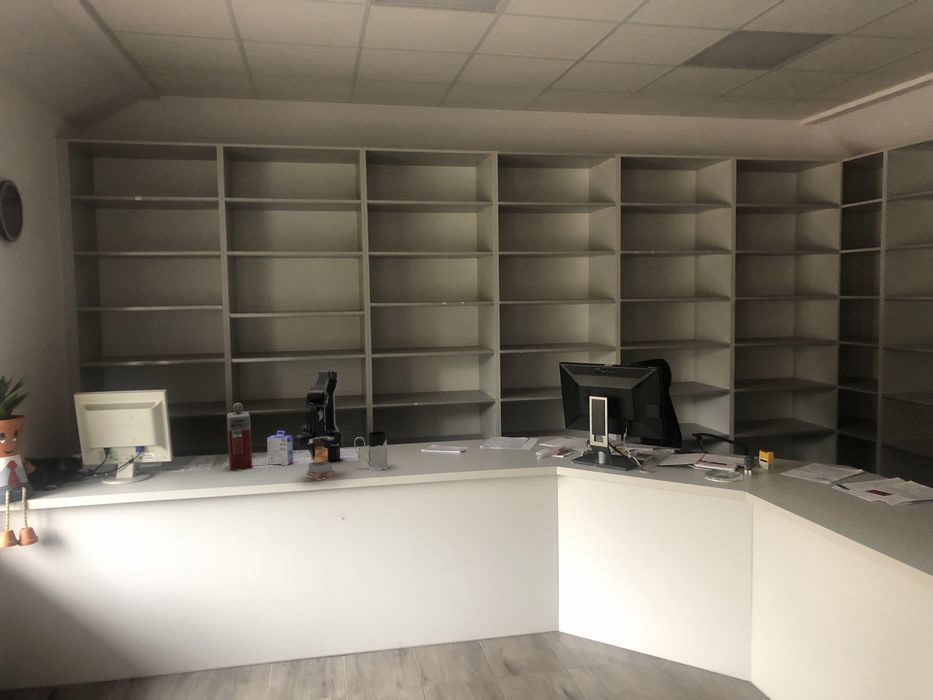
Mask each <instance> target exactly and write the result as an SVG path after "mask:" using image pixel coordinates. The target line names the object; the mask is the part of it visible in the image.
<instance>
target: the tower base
mask: <svg viewBox="0 0 933 700" xmlns="http://www.w3.org/2000/svg"><path fill="white" fill-rule="evenodd" d="M308 476H310V477H312V478H314V479H316V480H317V481H319V480H318V479H322V480H324V479H323V478H327V479H330V478H329V477H332V478H335V470H333V471H329V472H324V473H319V474H316V473H314V472H311V471H309V469H308V470H307V477H308ZM310 477H309V478H310ZM312 478H311V479H312ZM314 479H313V480H314ZM316 480H315V481H316Z"/></svg>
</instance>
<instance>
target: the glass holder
mask: <svg viewBox="0 0 933 700" xmlns="http://www.w3.org/2000/svg"><path fill="white" fill-rule="evenodd" d="M367 435H368V445H366V441H365V439H364V437H362V436H358V437H356V438H355V439H354V442H353V444H354V449H355V452H356V454H357V455H358V456H359V457H361V458H362V459H363V460H365V461H366V462H367V464H368V467H367V469H368V468H369V469H372V470H371V471H374V470H379V471H382V470H381V469H385V468H388V469H389V465H388V443H387V442H388V441H387V432H386V431H372V432H371V431H370V432H369V433H367ZM357 439H362V441H363V445H364V447H366V448H368V459H366V458H365V457H364V456H363V455H361V454H360V453H359V452H358V449H357V447H356V441H357ZM369 469H368V470H369ZM385 470H386V469H385Z"/></svg>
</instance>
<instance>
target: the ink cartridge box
mask: <svg viewBox="0 0 933 700" xmlns="http://www.w3.org/2000/svg"><path fill="white" fill-rule="evenodd" d="M285 433H286V430H277V431H276V434H275V435H270V436H268V437H266V438H267V439H266V444H267V448H266V449H267V464H268V465H273V464H281V465H280V466H289V465H291V464H293V463H294V451H293V450H294V449H293V447H294V446H293V435H285ZM292 462H293V463H292ZM290 463H291V464H290ZM288 464H289V465H288Z"/></svg>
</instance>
